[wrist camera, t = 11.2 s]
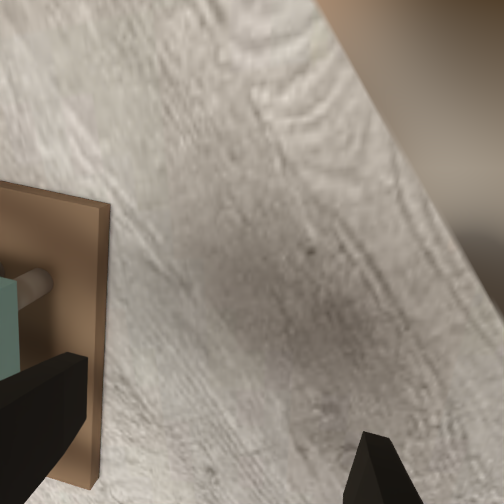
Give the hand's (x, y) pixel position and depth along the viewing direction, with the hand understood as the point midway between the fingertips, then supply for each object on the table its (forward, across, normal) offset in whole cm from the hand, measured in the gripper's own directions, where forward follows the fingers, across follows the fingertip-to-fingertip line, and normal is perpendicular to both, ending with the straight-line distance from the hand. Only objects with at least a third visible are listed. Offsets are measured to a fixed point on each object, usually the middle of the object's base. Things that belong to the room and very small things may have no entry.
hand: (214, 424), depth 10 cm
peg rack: (+10, +13, +7) cm, 18 cm away
